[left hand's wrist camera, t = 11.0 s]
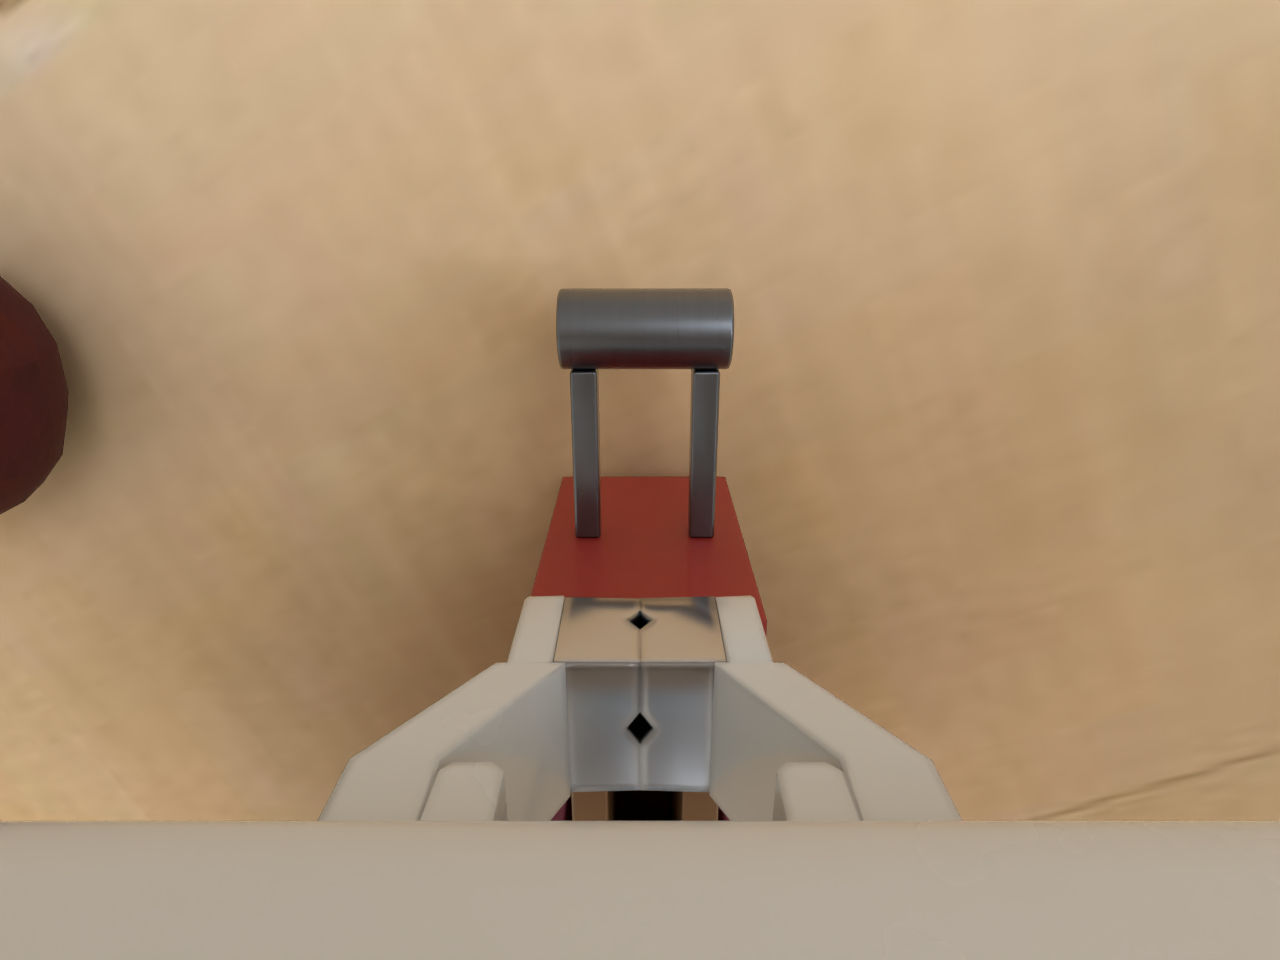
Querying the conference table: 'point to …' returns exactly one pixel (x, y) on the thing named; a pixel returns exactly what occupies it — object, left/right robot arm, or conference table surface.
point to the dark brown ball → (28, 399)
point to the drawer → (645, 487)
